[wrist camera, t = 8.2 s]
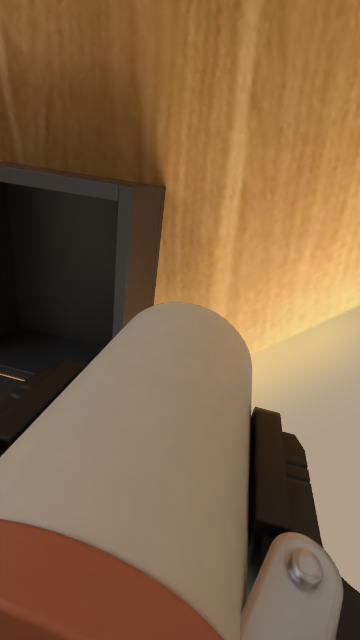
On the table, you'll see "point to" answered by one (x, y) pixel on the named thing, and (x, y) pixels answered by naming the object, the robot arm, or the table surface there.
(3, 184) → the black open box
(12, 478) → the container
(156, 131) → the table surface
